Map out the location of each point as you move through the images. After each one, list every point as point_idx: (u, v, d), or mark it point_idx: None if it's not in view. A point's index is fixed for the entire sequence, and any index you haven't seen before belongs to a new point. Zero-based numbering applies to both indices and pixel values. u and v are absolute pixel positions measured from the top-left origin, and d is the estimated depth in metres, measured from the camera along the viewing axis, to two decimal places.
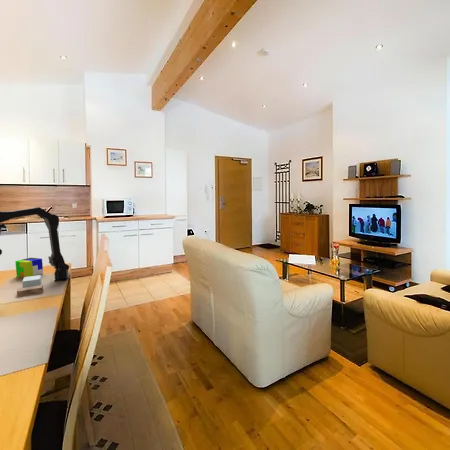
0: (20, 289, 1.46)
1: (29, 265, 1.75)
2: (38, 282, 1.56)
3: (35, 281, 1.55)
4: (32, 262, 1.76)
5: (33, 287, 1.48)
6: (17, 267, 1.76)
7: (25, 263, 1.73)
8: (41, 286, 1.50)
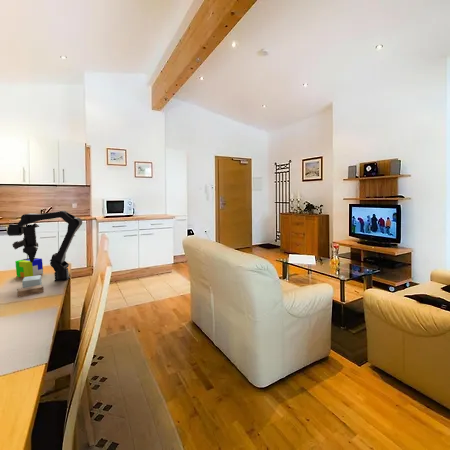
0: (20, 289, 1.45)
1: (30, 265, 1.75)
2: (38, 282, 1.56)
3: (35, 281, 1.55)
4: (32, 262, 1.76)
5: (33, 287, 1.49)
6: (17, 267, 1.76)
7: (25, 263, 1.73)
8: (41, 285, 1.51)
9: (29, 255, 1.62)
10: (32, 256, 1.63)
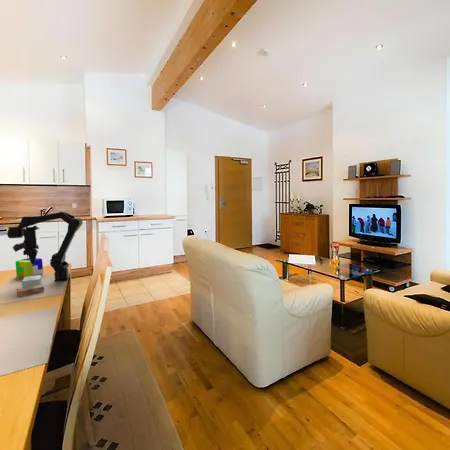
0: (20, 290, 1.45)
1: (29, 265, 1.75)
2: (38, 282, 1.56)
3: (35, 281, 1.55)
4: None
5: (33, 287, 1.49)
6: (17, 267, 1.76)
7: (25, 263, 1.73)
8: (41, 285, 1.51)
9: (30, 256, 1.64)
10: (33, 257, 1.65)
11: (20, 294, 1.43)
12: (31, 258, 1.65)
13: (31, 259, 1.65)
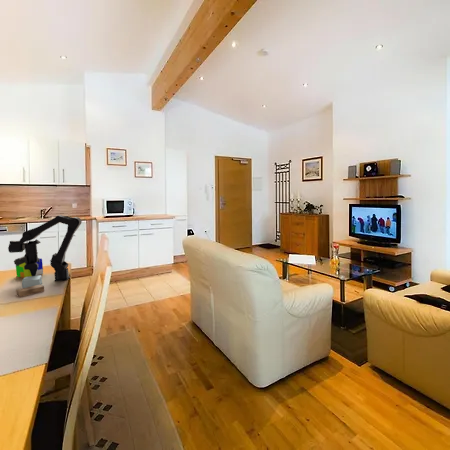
0: (20, 290, 1.44)
1: None
2: (37, 282, 1.55)
3: (34, 281, 1.55)
4: None
5: (33, 287, 1.49)
6: (17, 267, 1.76)
7: None
8: (41, 285, 1.52)
9: (31, 270, 1.64)
10: (34, 271, 1.65)
11: (21, 294, 1.43)
12: (32, 272, 1.65)
13: (32, 273, 1.65)
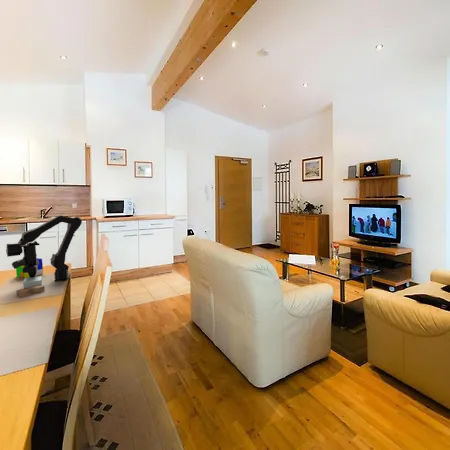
0: (21, 290, 1.44)
1: None
2: (39, 283, 1.53)
3: (36, 282, 1.52)
4: None
5: (33, 287, 1.48)
6: None
7: None
8: (41, 285, 1.52)
9: (29, 273, 1.58)
10: (33, 274, 1.59)
11: (22, 294, 1.42)
12: (31, 275, 1.58)
13: (31, 276, 1.59)
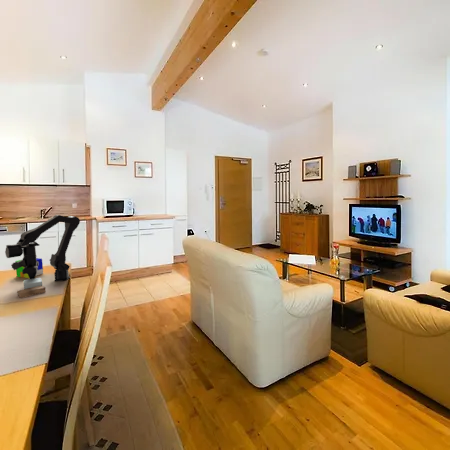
0: (21, 291, 1.43)
1: None
2: (40, 284, 1.52)
3: (37, 284, 1.51)
4: None
5: (34, 288, 1.47)
6: None
7: None
8: (42, 286, 1.50)
9: (29, 275, 1.56)
10: (32, 276, 1.57)
11: (22, 295, 1.41)
12: (31, 276, 1.56)
13: (31, 277, 1.57)
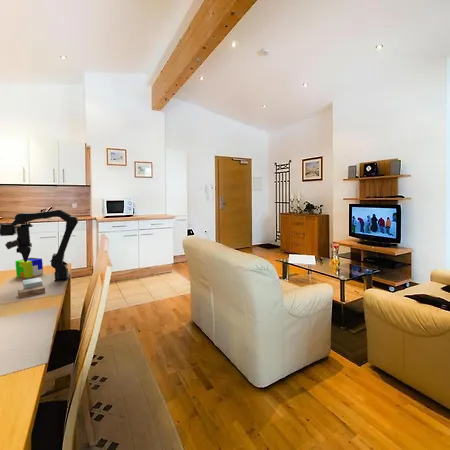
0: (21, 291, 1.43)
1: (29, 265, 1.75)
2: (40, 284, 1.52)
3: (37, 283, 1.51)
4: (32, 262, 1.76)
5: (34, 288, 1.47)
6: (17, 267, 1.76)
7: (25, 263, 1.73)
8: (42, 286, 1.50)
9: (23, 254, 1.60)
10: (26, 255, 1.61)
11: (21, 295, 1.41)
12: (24, 256, 1.61)
13: (24, 257, 1.61)
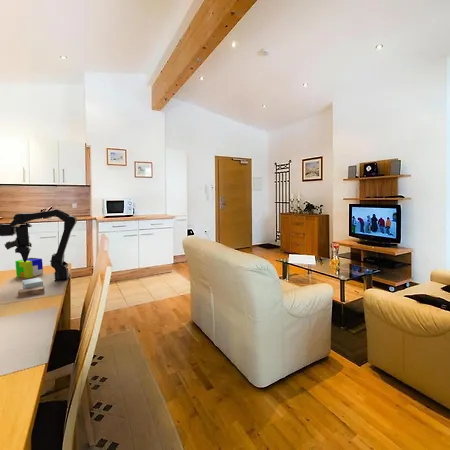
0: (21, 290, 1.44)
1: (30, 265, 1.75)
2: (41, 284, 1.52)
3: (38, 283, 1.51)
4: (32, 262, 1.76)
5: (34, 288, 1.47)
6: (17, 267, 1.76)
7: (25, 263, 1.73)
8: (43, 287, 1.49)
9: (22, 254, 1.61)
10: (25, 255, 1.62)
11: (19, 295, 1.42)
12: (23, 256, 1.62)
13: (23, 257, 1.62)
